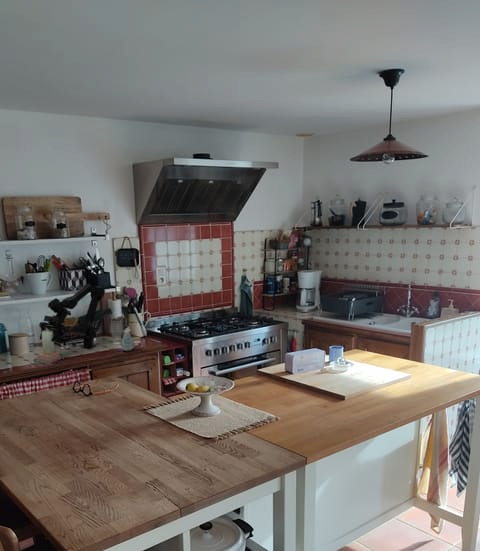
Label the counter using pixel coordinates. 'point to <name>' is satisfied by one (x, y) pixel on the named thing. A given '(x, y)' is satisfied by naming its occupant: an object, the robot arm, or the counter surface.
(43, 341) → the column brick
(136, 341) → the toy figure
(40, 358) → the tower base
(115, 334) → the coffee box
